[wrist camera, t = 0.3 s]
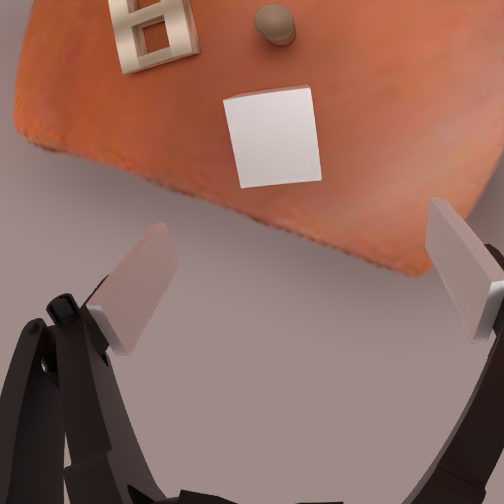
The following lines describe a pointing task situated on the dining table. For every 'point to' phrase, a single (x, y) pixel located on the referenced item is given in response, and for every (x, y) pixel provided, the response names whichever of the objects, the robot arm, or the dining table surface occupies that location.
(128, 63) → the socket board
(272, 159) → the white cube block
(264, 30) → the peg
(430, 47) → the dining table surface
